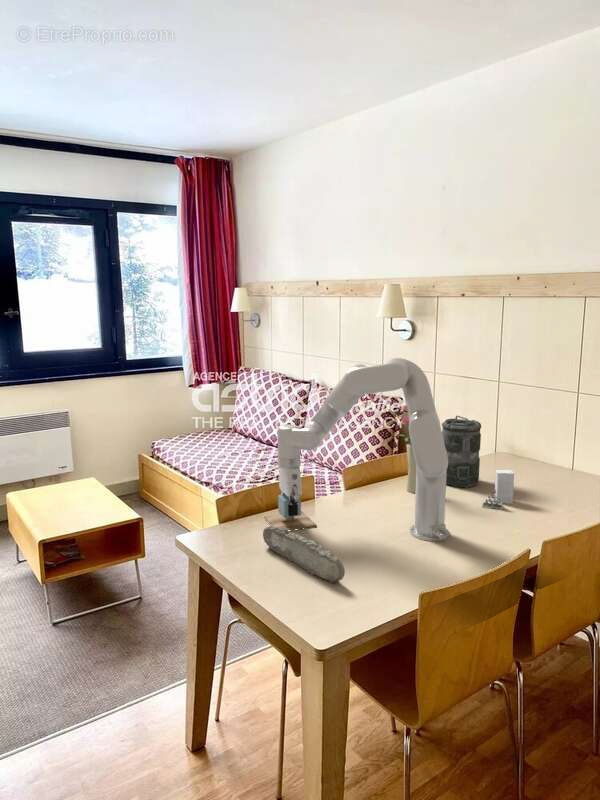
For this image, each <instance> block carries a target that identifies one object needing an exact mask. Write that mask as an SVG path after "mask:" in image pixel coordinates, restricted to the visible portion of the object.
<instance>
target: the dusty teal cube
mask: <svg viewBox="0 0 600 800" xmlns="http://www.w3.org/2000/svg"><path fill="white" fill-rule="evenodd" d="M292 495H294V494H291V496H292ZM292 499H294V497H291V500H292ZM277 501H278V502H277V505H278V506H277V507H278V508H277V509H278V510H277V512H278V513H279V514H281V515H282V516H283V517H284V518H288V517H295V516H301V511H302V499H301V498H300V497H299V501H298V515H295V516H289V515H288V505H290V504H289V497H288V496H287V495H286V494H285V495H281V494H279V495H278V496H277Z"/></svg>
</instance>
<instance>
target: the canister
mask: <svg viewBox="0 0 600 800" xmlns="http://www.w3.org/2000/svg"><path fill="white" fill-rule="evenodd" d="M441 426H442V427H441V431H442V436H443V440H444V445H445V448H446V450H447V455H448V467H447V470H446V486H452V487H459V488H460V487H461V488H466V489H467V488H473V487H475V486H476V485H478V483H479V481H480V465H481V463H480V462H481V461H480V460H481V458H480V450H481V440H482V437H481V436H482V434H481V429H482V424H481V422H480V421H477V420H475V419H472V420H471V419H468V418H467V417H464V416H461V415H458V414H456V415H455V418H448V419H445V420H444V421H443V422H441Z"/></svg>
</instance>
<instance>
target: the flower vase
mask: <svg viewBox="0 0 600 800" xmlns="http://www.w3.org/2000/svg"><path fill="white" fill-rule="evenodd" d="M402 409H403V410H405V411H408V409H407V405H406V404H405V405H403V406H402ZM396 411H397V412H398V413H399V414H401V411H399V410H398V409H397V410H396ZM398 413H395V412H393V415H397V416H399V417H400V418H402V419H401V421H400V422H401V424H403V425H406V427H407V430H408V432H409V415H405V416H404V417H402V416H401V415H399V414H398ZM408 434H409V433H408ZM396 436H398V437H399V436H400V437H402V438H404V441H405V442H408V441H409V440H410V441H411V439H410V437H406V436H405V434H397V435H396ZM409 436H410V434H409ZM405 445H406V455H407V463H408V471H407V478H406V480H407V481H406V488H405V489H406V490H405V491H406V492H407V493H410V494H416V460H415V456H414V452H413V447H412V443H411V442H410V443H408V444H405Z"/></svg>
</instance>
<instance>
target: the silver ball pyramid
mask: <svg viewBox="0 0 600 800" xmlns="http://www.w3.org/2000/svg"><path fill="white" fill-rule="evenodd" d="M490 493H491V495H488V496H487V498H486V499H484V502H482V508H484V509H486V508H487V509H492V510H499V511H502V510H503V509H504V503H502V502H501V501H500V500H499V498H498V497H496V491H495V488H493V489H492V491H490ZM493 494H494V496H493ZM495 498H498V500H499V501H497V500H496V499H495Z"/></svg>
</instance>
